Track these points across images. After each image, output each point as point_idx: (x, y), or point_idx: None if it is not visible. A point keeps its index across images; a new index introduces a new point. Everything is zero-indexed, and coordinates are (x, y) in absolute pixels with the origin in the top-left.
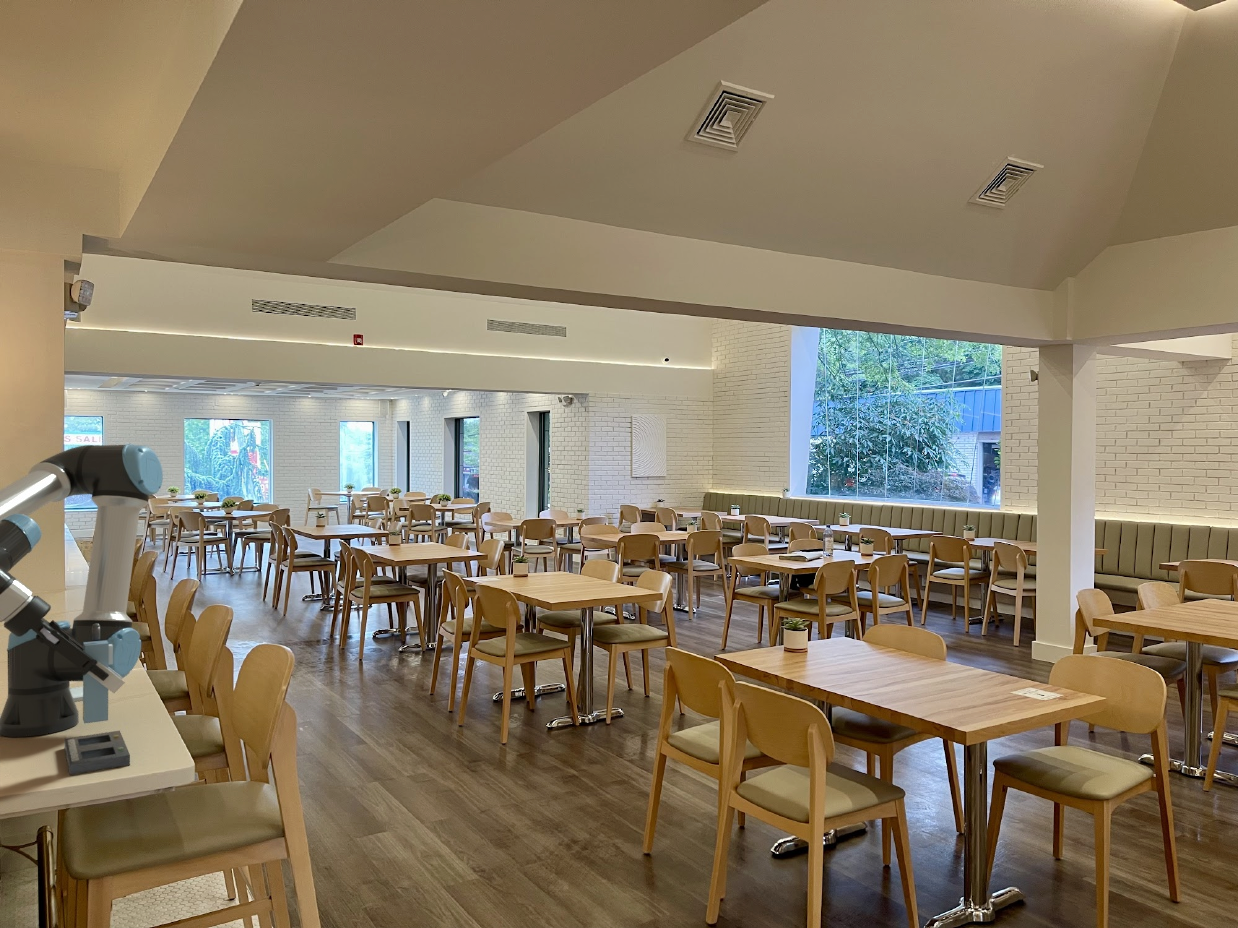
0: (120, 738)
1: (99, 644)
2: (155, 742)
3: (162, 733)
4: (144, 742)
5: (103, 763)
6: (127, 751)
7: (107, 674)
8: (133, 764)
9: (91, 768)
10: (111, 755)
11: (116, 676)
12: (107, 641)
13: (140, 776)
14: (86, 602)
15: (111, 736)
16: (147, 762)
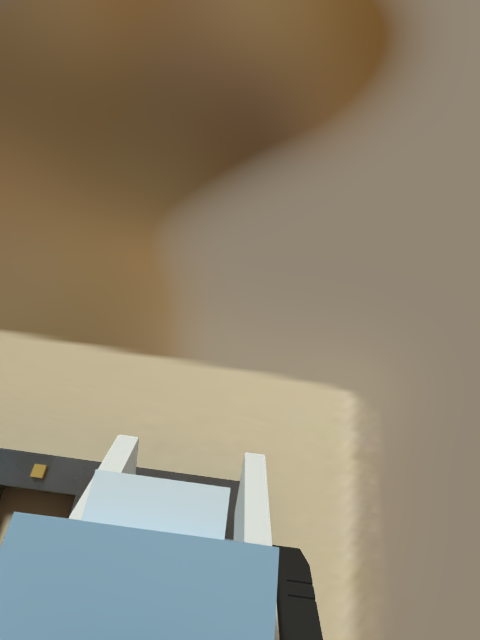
0: (67, 464)
1: None
2: (100, 384)
3: (32, 350)
4: (75, 405)
5: None
6: (220, 481)
7: (304, 562)
8: None
9: None
10: (230, 529)
11: (266, 496)
12: (115, 525)
13: (365, 488)
14: None
15: (20, 481)
16: (260, 445)
